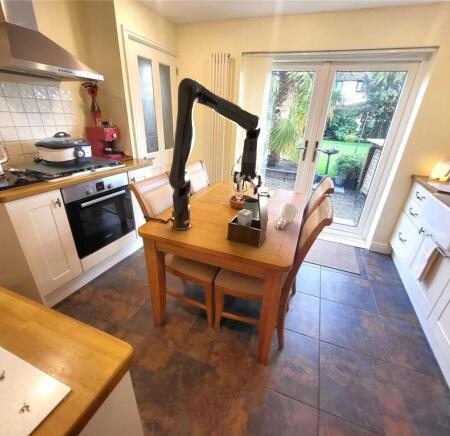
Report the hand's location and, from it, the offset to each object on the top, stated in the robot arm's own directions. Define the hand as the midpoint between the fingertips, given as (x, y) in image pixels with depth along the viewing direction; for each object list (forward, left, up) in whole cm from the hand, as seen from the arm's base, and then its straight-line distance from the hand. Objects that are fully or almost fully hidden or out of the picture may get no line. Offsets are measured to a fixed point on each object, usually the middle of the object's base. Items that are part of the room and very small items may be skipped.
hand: (246, 193), depth 117 cm
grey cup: (-6, +26, -26) cm, 37 cm away
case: (+2, 0, -26) cm, 26 cm away
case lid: (+9, 0, -6) cm, 11 cm away
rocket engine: (+14, +29, -26) cm, 41 cm away
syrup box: (0, 0, -25) cm, 25 cm away
